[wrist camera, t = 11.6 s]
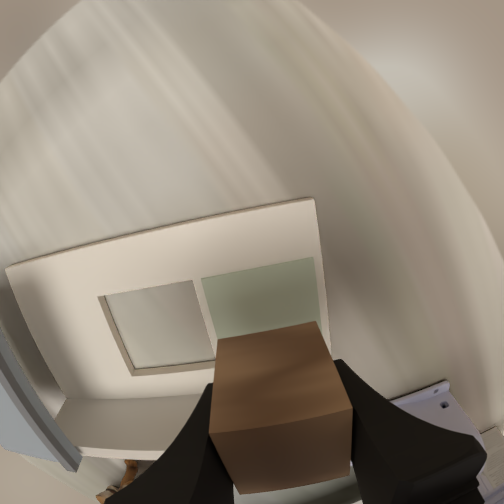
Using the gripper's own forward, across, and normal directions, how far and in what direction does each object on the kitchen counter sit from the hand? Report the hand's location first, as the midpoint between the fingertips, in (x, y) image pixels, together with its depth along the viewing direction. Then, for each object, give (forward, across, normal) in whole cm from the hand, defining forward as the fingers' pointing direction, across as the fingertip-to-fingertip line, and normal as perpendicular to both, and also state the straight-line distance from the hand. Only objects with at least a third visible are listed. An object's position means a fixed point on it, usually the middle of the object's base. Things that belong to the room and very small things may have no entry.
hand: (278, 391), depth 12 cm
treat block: (+1, 0, 0) cm, 1 cm away
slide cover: (+1, +17, 0) cm, 17 cm away
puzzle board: (+7, +6, 0) cm, 10 cm away
